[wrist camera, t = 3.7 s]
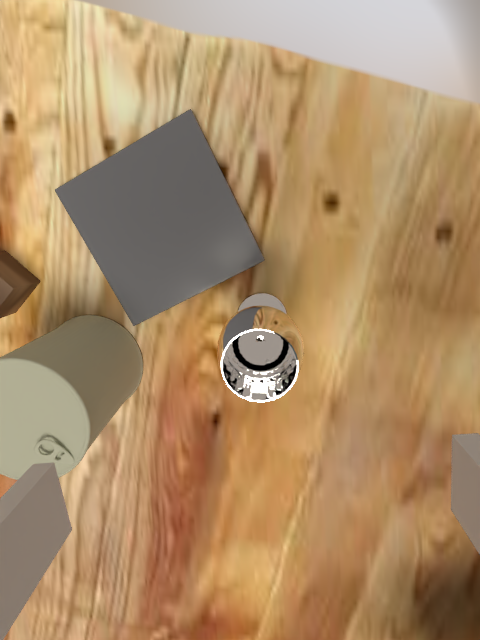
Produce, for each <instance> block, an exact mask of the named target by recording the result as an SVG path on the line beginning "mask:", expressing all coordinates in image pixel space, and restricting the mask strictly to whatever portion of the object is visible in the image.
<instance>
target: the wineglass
mask: <svg viewBox="0 0 480 640" xmlns="http://www.w3.org/2000/svg"><path fill="white" fill-rule="evenodd" d="M217 355H218V363H219V367H220V371H221V374H222V376H223V378H224V380H225V382H226V384H227V385H228V387H229V388H230V389H231V390H232V391H233V392H234V393H235V394H237V395H238V396H240V397H241V398H244V399H246V400H249V401H255V402H267V401H271V400H274V399H277V398H279V397H281V396H282V395H284V394H285V393H286V392H287V391H289V389H290V388H291V387H292V386H293V384H294V382H295V381H296V379H297V377H298V375H299V372H300V370H301V366H302V362H303V355H304V348H303V340H302V336H301V333H300V331H299V329H298V327H297V325H296V324H295V322H294V321H293V320H292V319H291V318H290V317H289V316H288V315H287V312H286V309H285V307H284V305H283V303H282V302H281V301H280V300H279V299H278V298H276V297H275V296H273V295H271V294H267V293H257V294H253V295H251V296H249V297H248V298H246V299H245V300H244V301H243V302H242V303H241V305H240V307H239V309H238V312H237V313H236V314H234V315H233V316H232V317H231V318H230V319H229V320H228V321H227V323H226V324H225V325H224V327H223V329H222V331H221V334H220V336H219V340H218V348H217Z"/></svg>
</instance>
